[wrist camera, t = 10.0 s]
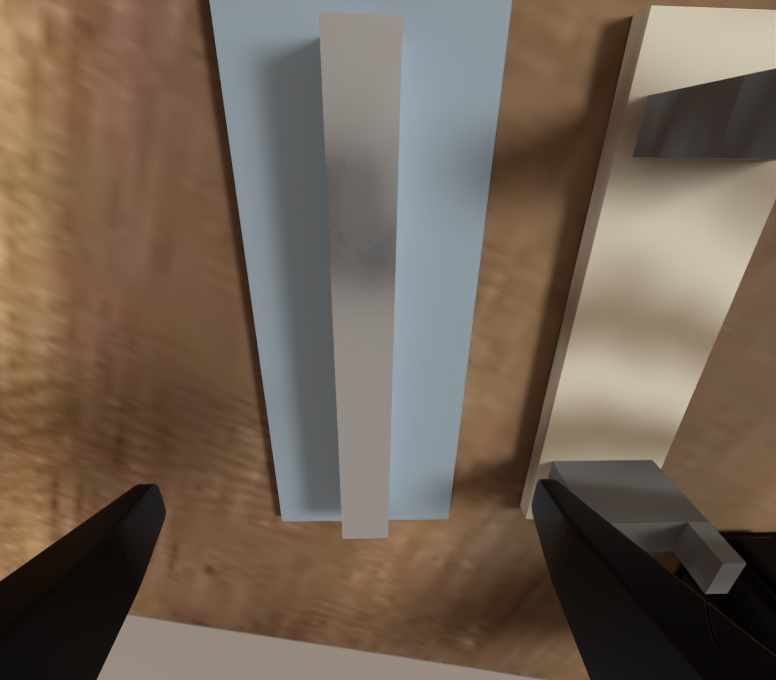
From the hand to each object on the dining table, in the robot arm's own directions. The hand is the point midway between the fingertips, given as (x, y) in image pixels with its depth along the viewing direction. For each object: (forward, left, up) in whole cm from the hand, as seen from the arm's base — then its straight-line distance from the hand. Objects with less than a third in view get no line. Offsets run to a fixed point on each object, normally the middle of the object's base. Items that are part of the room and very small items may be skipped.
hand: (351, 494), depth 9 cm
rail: (0, 0, -10) cm, 10 cm away
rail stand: (0, -13, -10) cm, 17 cm away
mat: (0, 0, -10) cm, 10 cm away
